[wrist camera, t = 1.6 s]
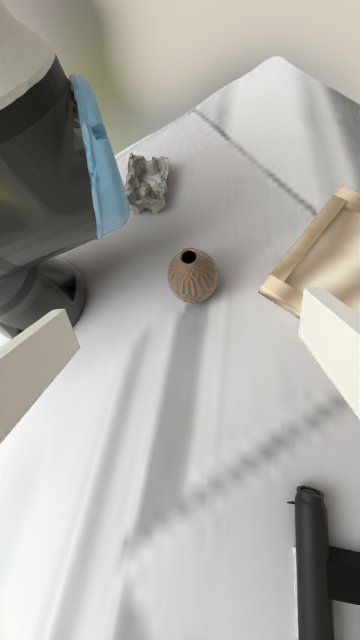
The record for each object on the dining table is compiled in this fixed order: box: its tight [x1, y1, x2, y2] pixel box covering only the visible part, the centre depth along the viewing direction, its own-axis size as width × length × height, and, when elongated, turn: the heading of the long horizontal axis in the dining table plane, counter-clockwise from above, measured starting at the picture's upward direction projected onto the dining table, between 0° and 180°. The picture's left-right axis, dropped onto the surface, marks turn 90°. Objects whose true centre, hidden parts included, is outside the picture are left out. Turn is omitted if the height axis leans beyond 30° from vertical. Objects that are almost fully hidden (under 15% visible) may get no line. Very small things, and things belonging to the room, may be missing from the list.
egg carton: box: [124, 153, 170, 215], centre depth 40 cm, size 11×8×4 cm
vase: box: [168, 248, 218, 303], centre depth 31 cm, size 7×7×9 cm
